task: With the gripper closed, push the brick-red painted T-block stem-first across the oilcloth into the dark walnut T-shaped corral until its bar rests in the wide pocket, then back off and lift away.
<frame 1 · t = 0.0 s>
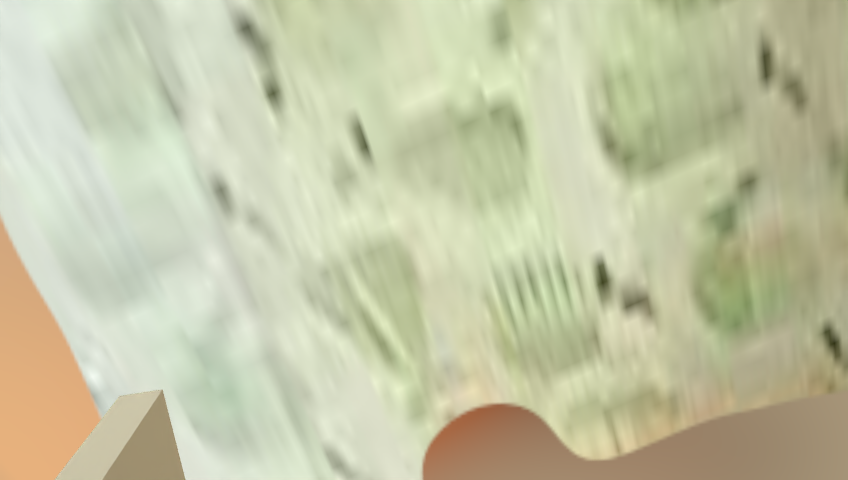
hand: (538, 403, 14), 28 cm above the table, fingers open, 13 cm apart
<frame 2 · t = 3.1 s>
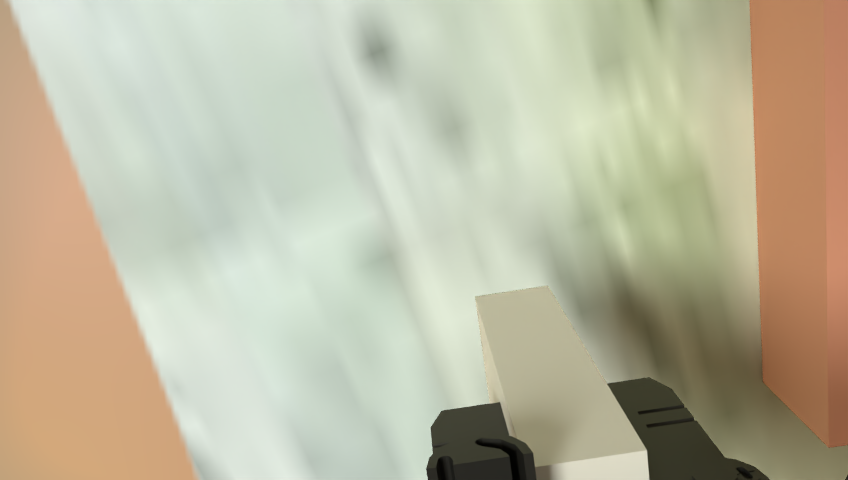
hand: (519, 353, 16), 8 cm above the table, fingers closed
t block: (823, 188, 23), on the table
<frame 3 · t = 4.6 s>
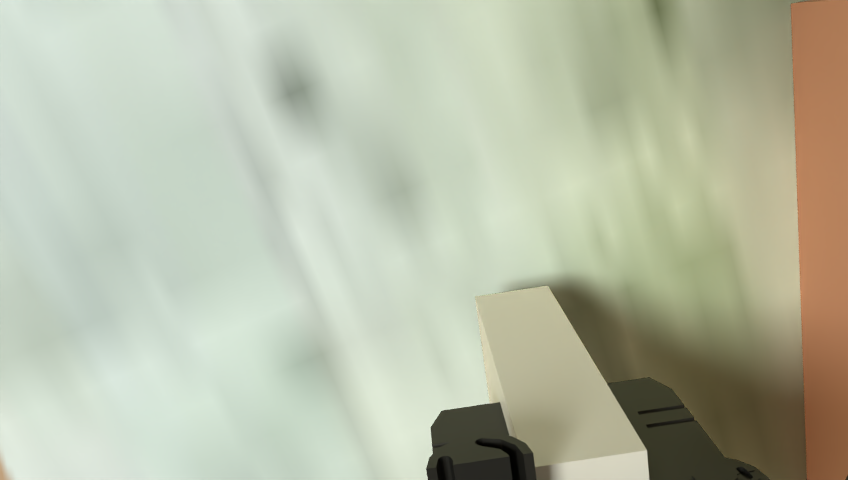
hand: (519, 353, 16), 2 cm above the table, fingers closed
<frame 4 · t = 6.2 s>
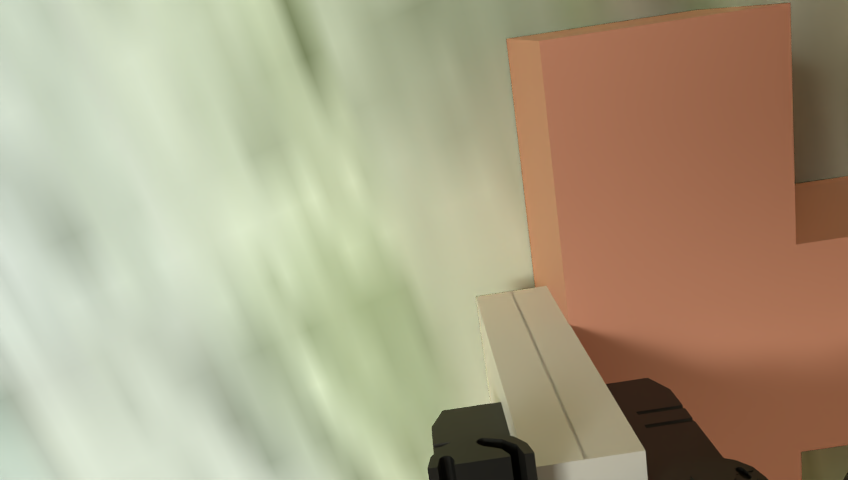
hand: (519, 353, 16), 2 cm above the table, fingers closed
t block: (624, 295, 18), on the table, touching gripper
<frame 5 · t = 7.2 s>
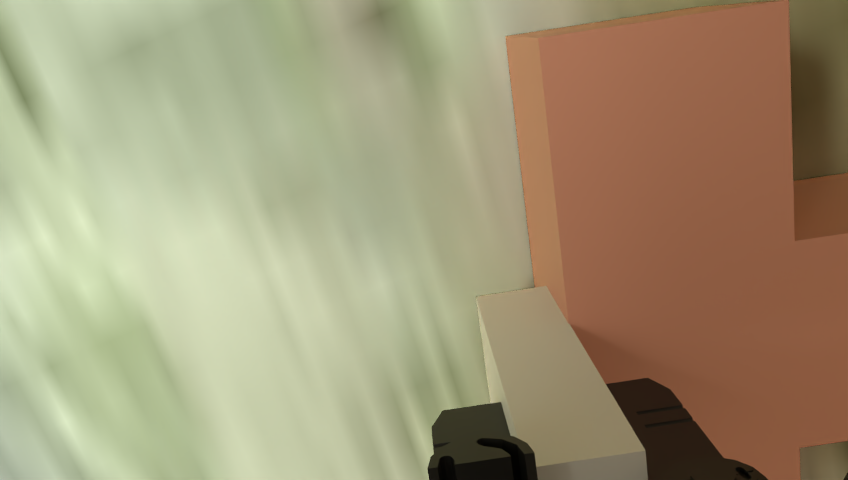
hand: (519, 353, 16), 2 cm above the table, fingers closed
t block: (623, 292, 18), on the table, touching gripper
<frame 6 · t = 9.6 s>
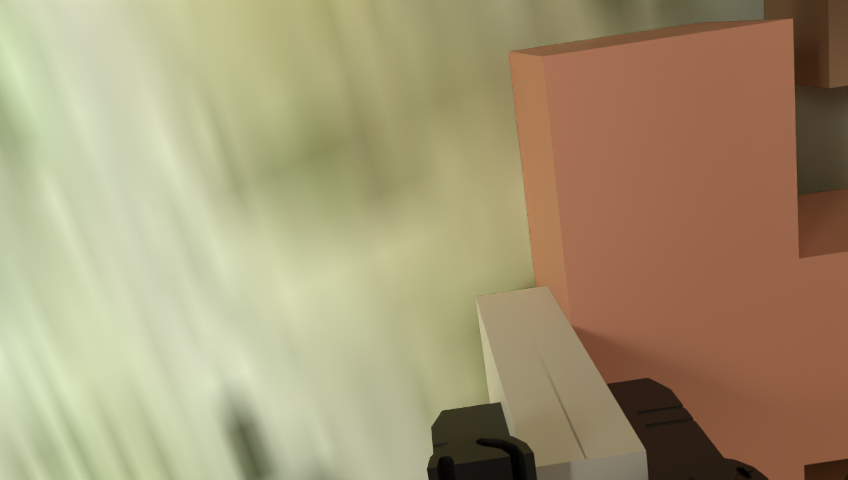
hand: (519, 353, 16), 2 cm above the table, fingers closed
t block: (626, 306, 18), on the table, touching gripper
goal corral: (620, 304, 18), on the table
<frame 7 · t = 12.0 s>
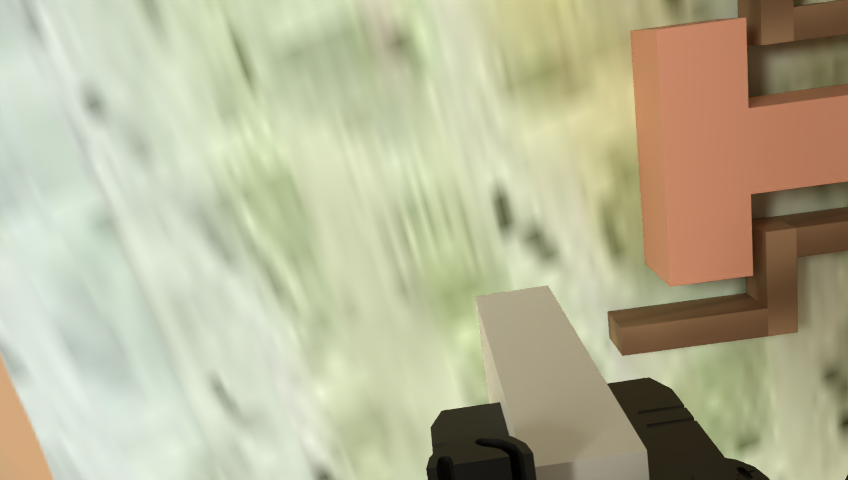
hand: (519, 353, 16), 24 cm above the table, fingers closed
t block: (676, 146, 40), on the table
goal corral: (673, 144, 40), on the table
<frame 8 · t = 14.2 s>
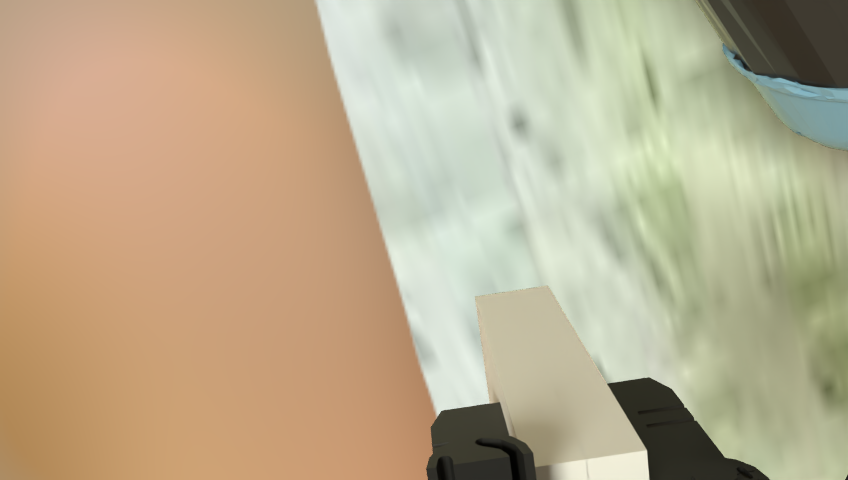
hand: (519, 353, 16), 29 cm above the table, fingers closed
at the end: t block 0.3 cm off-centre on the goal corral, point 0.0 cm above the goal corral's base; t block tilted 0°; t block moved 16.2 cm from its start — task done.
